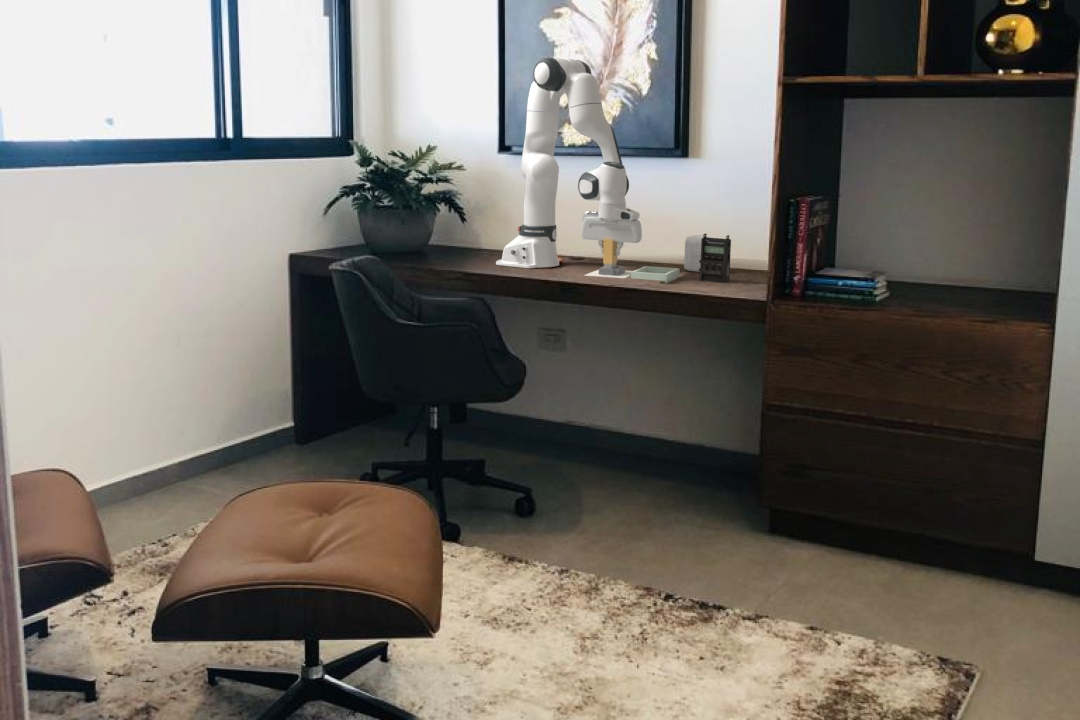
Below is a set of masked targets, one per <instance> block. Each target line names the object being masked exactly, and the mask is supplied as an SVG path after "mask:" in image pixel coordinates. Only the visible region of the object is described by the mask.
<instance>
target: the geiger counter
mask: <svg viewBox="0 0 1080 720" xmlns="http://www.w3.org/2000/svg"><path fill="white" fill-rule="evenodd" d="M702 236H703V238H701V260H699V263H700V268H699V271H700V272H699V280H700V281H705V282H715V283H722V284H725V283H729V282H730V273H731V272H730V271H731V270H730V268H731V248H732V239H731V238H730V235H729V234H727V235H726V236H725V238H721V237H720V238H718V237H717V238H716V237H710V238H708V237H709V236H707V233H704V234H702ZM706 236H707V237H706Z"/></svg>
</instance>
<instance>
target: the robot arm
mask: <svg viewBox="0 0 1080 720" xmlns="http://www.w3.org/2000/svg"><path fill="white" fill-rule="evenodd" d="M532 74H533V75H532V76H533V82H532V83H531V85H530V88H529V91H528V92H529V93H528V98H527V105H526V120H525V123H526V124H525V135H524V141H523V142H524V143H523V149H522V156H521V164H520V170H521V174H522V176H523V178H524V179H525V180H526V183H525V190H524V192H525V193H524V200H523V224H521V225H520V226H518V227H517V230H516V231H517V232H518V235H517V236H516V237H515V238H513V239H512V240H511V241H510V242H509V243H507V244H506V245H505V246H504V247H503V251H502V256H501V259H498V260H496V262H495V265H496V266H504V267H512V268H513V267H514V268H522V269H536V268H552V267H558V266H560V261H559V257H558V252H557V243H556V242H557V235H558V233H557V224H556V200H557V193H558V184H559V173H560V167H559V164H558V162H557V160H556V159H555V157H554V154H555V150H556V149H555V148H556V143H557V139H558V134H559V133H558V132H559V118H560V103H561V102H560V100H561V98H562V96H563V95H564V94H565V96H566V98H567V103H568V113H569V119H570V123H571V126H572V128H573V129H574V130H575V131H577V133H579V134H581V135H582V136H585V137H586V138H589V139H591V140H593V141H594V142H595V143H596V144H597V145H598V146H599V149H600V151H601V155H602V159H603V162H602V163H601V164H600V166H599V167H597V168H595V169H592V170H588V171H585V172H583V173H582V174H581V175H580V177H579V179H578V183H577V189H578V190H577V191H578V193H579V195H580V196H581V197H582V198H583V199H584V200H587V201H598V211H591V210H588V211H586V212H583V214H582V226H581V234H580V237H581V238H582V239H583V240H591V241H598V242H597V244H598V246H599V247H600V250H601V251H600V252H601V255H603V253H604V239H613V241H615V242H617V245H618V248H617V250H614V255H617V257H618V256H620V255H621V249H622V248H623V247H624V244H625V243H630V244H637V243H640V242H641V241H642V239H643V237H642V236H643V235H642V234H643V231H642V223H641V221H640V220H639V219H640V216H641V214H640V212H639V211H636V210H634V209H631V208H629V207H626V205H627V202H626V195H627V194H628V193H629V189H630V181H629V177H628V175H627V171H626V168H625V165H623V162H622V157H621V154H620V153H621V152H620V149H619V146H618V141H617V138H616V134H615V131H614V129H613V127H612V125H611V124H610V123H609V122H608V120H607V118H606V115H605V113H604V109H603V104H602V103H603V101H602V97H601V91H600V89H599V84H598V81H597V79H596V77H595V76H594V75H593V74H592V70H591V67H590V66H589V65H588V64H587V63H586V62H585V61H582V60H579V59H573V58H569V57H545V58H541V59H539V60H538V61H537V62H536V64H535V65H534V68H533V72H532Z"/></svg>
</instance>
